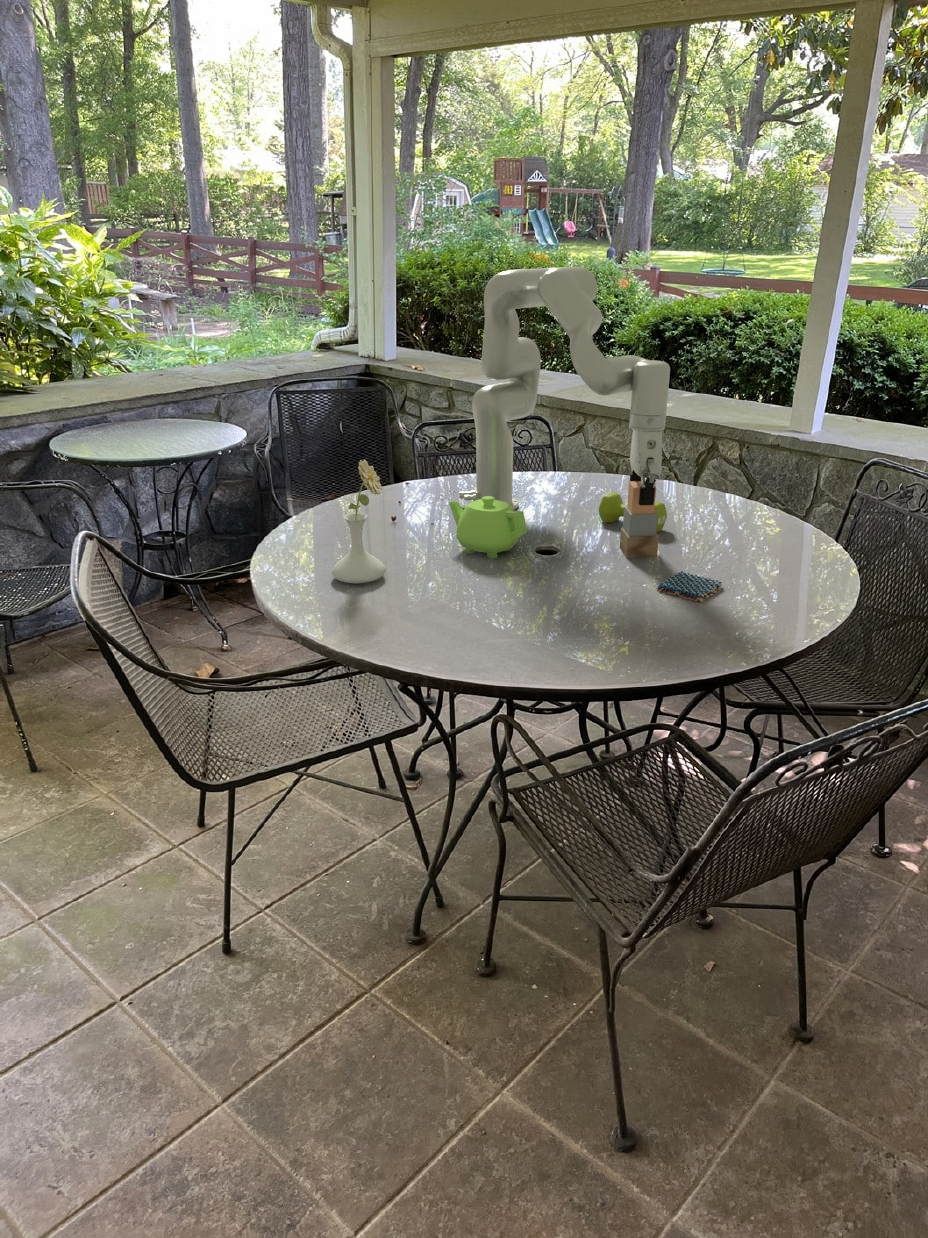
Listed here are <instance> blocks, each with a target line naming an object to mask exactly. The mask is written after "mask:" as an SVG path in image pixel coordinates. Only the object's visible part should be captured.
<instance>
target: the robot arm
mask: <svg viewBox="0 0 928 1238" xmlns="http://www.w3.org/2000/svg"><path fill="white" fill-rule="evenodd" d="M597 282H598V281H597V280H596V277H595V275H594V274H593V272H592V271H591V270H590V269H588V268H586V267H584V266H564V267H545V268H542V267H541V268H523V269H522V268H521V269H519V268H518V269H509V270H505V271H501V272H498V273H497V274H494V275H493V276H492V277H491V278H490V279H489V280H488V282H487V283H486V286H485V288H484V293H483V307H484V309H483V312H484V327H483V338H482V352H481V370H482V374H483V375H484V376H485V377H486V378H487V379H489V380H492V381H501V380H509V381H508V382H507V381H506V382H499V383H493V384H488V385H485V386H483V387H481V388H479V389H478V390H477V391H476V392H475V393H474V395H473V397H472V401H471V408H472V414H473V420H474V424H475V425H474V426H475V427H474V428H475V443H476V444H475V445H476V446H475V447H476V449H475V450H476V452H475V454H476V455H475V456H476V465H475V466H476V469H475V470H476V473H475V474H476V477H475V478H476V479H475V480H476V481H475V482H476V485H475V487H474V489H473V490H472V489H471V490H470V491H464V490H463V491H462V490H461V491H458V494H459V496H458V497H459V499H461V500H462V499H464V501H470V503H471V502H473V501H476V500H479V499H482V497H485V496H492V497H494V498H495V499H494V500H499V501H503V502H506V503H508V504H510V505H511V507H512V509H513V511H515V510H516V509H517V508H518V506H519V501H518V500H517V499H516V498H514V497H513V479H514V478H513V475H514V474H513V473H514V472H513V470H514V469H513V468H514V438H513V435H512V434H513V433H512V432H511V430H510V428H509V426H508V423H507V422H509V421H514V420H518V419H519V420H520V419H524V418H526V417H528V416H530V415H531V414H532V413H533V411H534V409H535V407H536V404H537V398H538V391H539V380H540V375H541V353H540V350H539V348H538V345H537V344H536V343H535V342H534V340H533V339H531V338H529V337H525V336H522V337H519V334H520V320H519V317H518V313H517V311H516V309H517V310H518V309H525V308H527V309H530V308H537V307H539V308H540V307H546V308H547V310H548V311H549V312H550V313H551V315H552V316H553V317H554V319H555V320H556V321H557V323H558V324H559V325H560V327H561V328H562V330H564V332H565V333H566V335H567V336H568V338H569V354H570V358H571V362H572V365H573V368H574V370H575V371H576V373H577V374H578V376H579V377H580V378H581V380H582V381H583V383H585V385H586V386H587V387H588V388H589V389H590V390H591V391H592V392H593V393H595V394H596V395H599V396H612V395H617V394H621V393H628V392H631V400H630V413H629V424H628V427H629V429H631V430H632V435H631V444H630V455H629V456H630V459H629V461H630V462H629V464H630V475H629V481H641V484H642V487H640V493H639V505H653V504H654V496H655V486H656V487H657V485H656V482H657V480H656V477H659V476H661V474H662V458H663V457H662V456H663V431H664V430H665V428H666V418H667V408H668V398H669V385H670V375H671V366H670V364H669V363H667V362H666V361H664V360H663V361H662V360H652V359H651V360H650V359H647V358H644V357H641V356H638V355H631V354H630V355H629V354H628V355H621V356H614V357H609V358H606V357H605V356H604V355H603V353H602V352H601V350H600V349H599V348H598V347H597V345H596V344H595V342H594V340H593V335H594V334H596V332H597V331H599V328H600V327H601V324H602V322H603V313H602V312H601V310H600V309H599V308H598V306H597V305H596V304H595V303H594V298H595V297H596V296H597V293H598V283H597Z"/></svg>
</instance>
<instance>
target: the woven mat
mask: <svg viewBox="0 0 928 1238" xmlns="http://www.w3.org/2000/svg"><path fill="white" fill-rule="evenodd" d="M722 586H723V583H722V581H719V580H718V579H716V580H715V579H712V578H709V577H708V578H706V577H704V576H703V575H702V576H699V575H698V574H692V573H691V574H690V572H687V573H686V572H684V571H683V570H680V572H677V573H675V574H674V575H671V577H669V578H667V579H666V580H663V582H660V583H659V585H658V586H657V588H656V590H657V591H659V592H661V593H667V594H670V595H674V596H676V597H680V598H684V599H688V600H692V601H695V602H698V603H702V602H704V601H705V599H708V598H709V597H711V596H712V595H713V594H716V593H717V592H718V591H720V590H722V589H723V587H722ZM708 594H712V595H708ZM713 596H714V595H713Z"/></svg>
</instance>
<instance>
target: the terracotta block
mask: <svg viewBox="0 0 928 1238" xmlns="http://www.w3.org/2000/svg"><path fill="white" fill-rule="evenodd" d="M640 487H642V484H641V481H630V480H629V482H628V490H627V491H628V493H627V494H628V495H627V504H626V505H627V508H628V509H629V511H630V512H631V514H654V509H655V502H656V495H657V485H656V486H655V496H654V504H653V505H639V493H640Z"/></svg>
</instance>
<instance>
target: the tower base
mask: <svg viewBox="0 0 928 1238" xmlns="http://www.w3.org/2000/svg"><path fill="white" fill-rule="evenodd" d="M659 540H660V537H659V535H658V533H656V536H628V534H627V533H626V532H625V530H624V529H623V526H622V527H620V537H619V550H620V551H621V552H622V554H623V555H624V558H625V559H639V558H640V559H644V558H645V559H646V558H650V559H651V558H658V554H659V553H658V552H659V551H658V549H659Z"/></svg>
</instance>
